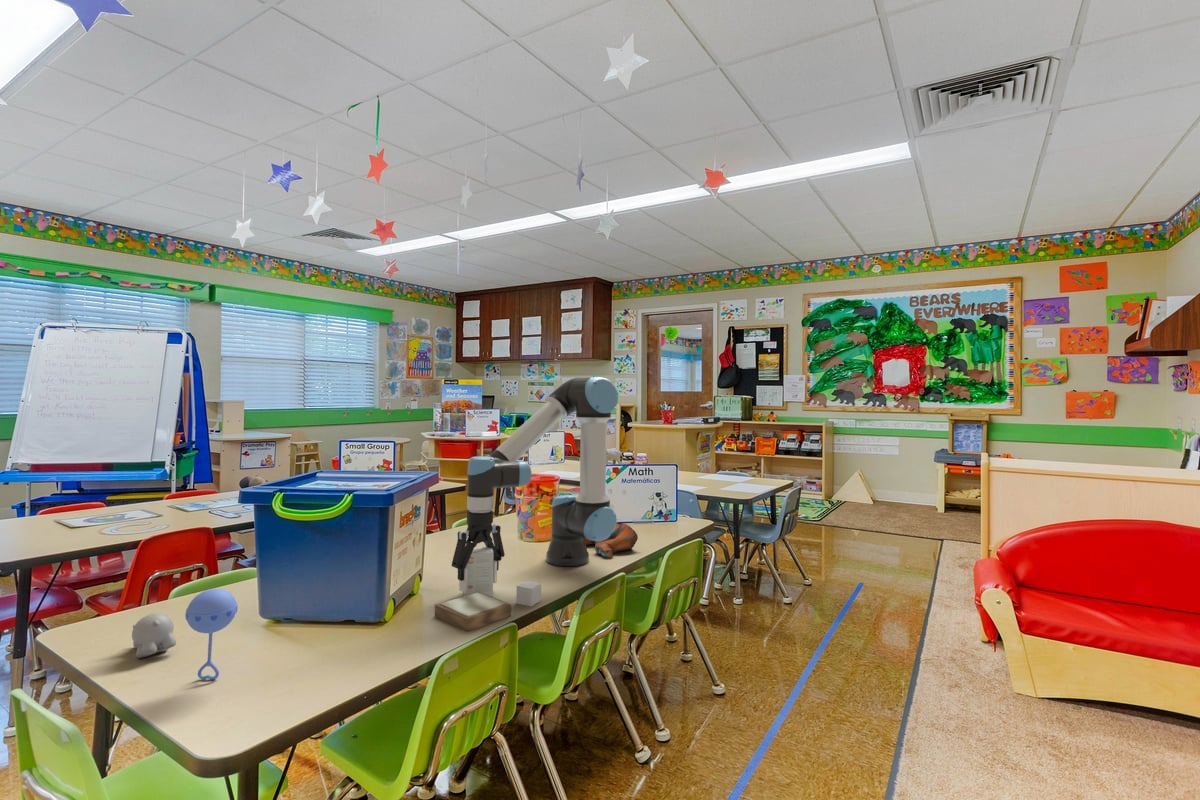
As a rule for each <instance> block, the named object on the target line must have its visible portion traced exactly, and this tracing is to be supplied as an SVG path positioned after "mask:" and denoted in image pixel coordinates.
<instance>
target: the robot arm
mask: <svg viewBox="0 0 1200 800" xmlns="http://www.w3.org/2000/svg"><path fill="white" fill-rule="evenodd" d="M618 401H619V394H618V390H617V387H616V386H615V384H613V382H612V381H611V380H610V379H608V378H605V377H599V376H591V377H574V378H570V379H569V380H567V381H565V382H564V383H562V384H561V385H559V386H558V387H557V388H556V389H555V390H553V391H552V392H551V393H550V394H549V395H547V397H546V398H545V402H544V404H543V405H542V406H541V407H540V408H539V409H537V410H536V411H535V412H534V413H533V414H532V415H531V416H530V417H529V418H528V419H527V420H525V421H524V423H523V424H521V425H520V426H519V427H518V428H517V429H516V430H515V431H514V432H513V433H512V434H510V435H509V437H507V439H505V440H504V441H503V442H502V443H501V444H500V445H499V446H498V447H497V448H496V449H495V450H494V451H492V452H491V453H490V454H489V455H485V456H484V455H483V456H471V457H470V458H469V459H468V463H467V471H466V472H467V473H466V474H467V495H466V497H467V498H466V509H467V512H466V524H467V528H466V530H465V531H458V532H457V542H456V545H455V549H454V553H453V558H452V561H451V567H452V568H455V569H457V580H458V581H459V583H458V590H459V591H461V592H463V593H464V592H467V579H468V569H467V568H465V567H466V565H467V563H468V561H469V558H470V556H471V554H472V552H473V549H474V548H475V547H477V545H478V544H480V543H484V545H485V547H489V548H492V549H493V552H494V555H493V584H497V583H498V581H497V580H498V571H499V568H500V567H499V565H500V564H499V563H500V561H502V558H504V557H505V549H504V544H503V541H502V540H503V539H502V536H501V530H502V529H501V525H498V524H493V522H494V511H493V509H494V499H495V498H494V496H495V495H494V494H495V493H494V492H495V489H504V488H515V487H516V488H520V487H523V486H527V485H529V483H530V482H531V480H532V468H531V466H530V464H529V463H528V462H527V461H519V459H521V457H523V455H525V454H526V453H527V452H528V451H529V449H530V450H531V448H532V447H533V446H534V445H535V444H536V443H537V442H538V441H539V440H540V439H542V437H543V436H545V434H547V433H548V432H549V431H550V429H552V428H553V427H554V426H555V425H556V424H557V423H558V422H560V420H565V419H566V418H567V417H569V416H570V415H571V414H573V413H575V419H577V421H579V423H580V445H579V446H580V450H579V451H580V455H579V457H580V462H579V463H580V464H579V494H567V495H558V496H554V497H553V499H552V505H551V539H550V542H549V545H548V549H547V552H546V555H545V562H546V563H548V564H550V565H553V566H557V567H579V566H582V565H585V564H588V563H589V562H590V561H589V560H590V554H589V552H588V548H587V545H586V543H585V539H584V538H587V539H588V540H593V541H603V540H605V539H607V538H608V537H609V536H610V535H611V533H613V531H614V529H615V527H616V522H617V519H618V518H617V514H616V512H615V511H614V510H613V508H612V507H611V499H610V497H609V496H608V495H607V494H606V488H607V487H606V485H607V482H606V474H607V473H606V472H607V470H606V468H607V465H606V462H607V455H606V454H607V423H608V421H609V420H610V419H612V417H611V416H612V412H613V411H614V410H615V409H616V408H615V407H617V405H618V403H619V402H618ZM492 524H493V525H492Z"/></svg>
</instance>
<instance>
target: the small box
mask: <svg viewBox="0 0 1200 800" xmlns="http://www.w3.org/2000/svg"><path fill="white" fill-rule="evenodd" d="M493 555H494V552H493V549H492V548H489V547H486V546H482V547H481V546H480V547H478V546H476V547H474V549H473V552H472V554H471V556H470V558H469V561H468V563H467V565H466V567H465V568H467V569H468V579H467V592H463V593H464V595H463V596H465V595H468V594H472V593H475V592H481V593H483V594H486V595H488V596H491V597H494V583H493Z"/></svg>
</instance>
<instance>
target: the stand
mask: <svg viewBox="0 0 1200 800" xmlns="http://www.w3.org/2000/svg"><path fill="white" fill-rule="evenodd" d="M511 616H512V604H511V603H509V602H507V601H503V600H502V599H498V598H496V597H494V596H493V597H491V596H488V595H486V594H483V593H481V592H475V593H472V594H468V595H465V596H464V595H462V596H460V597H455V598H452V599H449V600H447V601H442V602H439V603H436V604H434V617H435V618H437V619H439V620H442V621H444V622H447V623H448V624H450V625H452V626H454V627H457V628H459V629H461V630H463V631H466V632H469V631H472V630H475V629H478V628H481V627H483V626H486V625H489V624H491V623H495V622H497V621H500V620H503V619H507V618H508V617H511Z"/></svg>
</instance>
